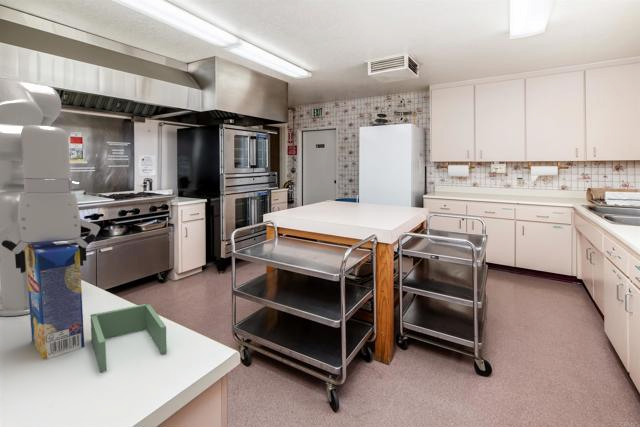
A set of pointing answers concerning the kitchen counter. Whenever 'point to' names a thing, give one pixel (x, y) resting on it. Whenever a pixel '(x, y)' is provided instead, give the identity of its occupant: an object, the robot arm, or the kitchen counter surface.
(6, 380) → the kitchen counter surface
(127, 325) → the mount bracket
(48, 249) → the beverage box
